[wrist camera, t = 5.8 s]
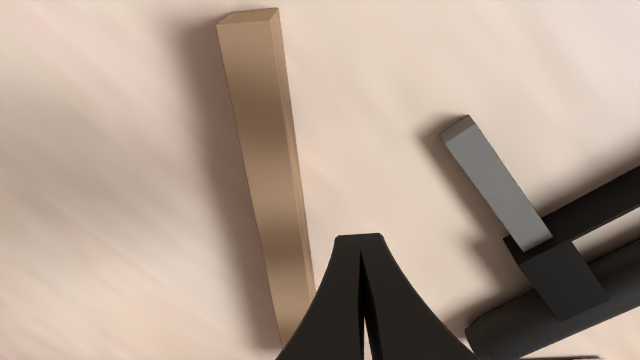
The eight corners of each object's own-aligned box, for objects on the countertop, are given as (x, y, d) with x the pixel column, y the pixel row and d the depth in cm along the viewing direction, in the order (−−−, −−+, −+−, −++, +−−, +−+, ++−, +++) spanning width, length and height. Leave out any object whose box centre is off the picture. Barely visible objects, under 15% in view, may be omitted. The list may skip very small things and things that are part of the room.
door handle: (344, 217, 21) (503, 390, 26) (811, -85, 14) (896, 229, 20) (344, 185, 24) (487, 347, 29) (731, -77, 17) (824, 193, 23)
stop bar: (323, 348, 29) (322, 388, 26) (294, 349, 29) (290, 389, 26) (278, 7, 18) (269, 20, 15) (232, 11, 18) (215, 25, 15)
